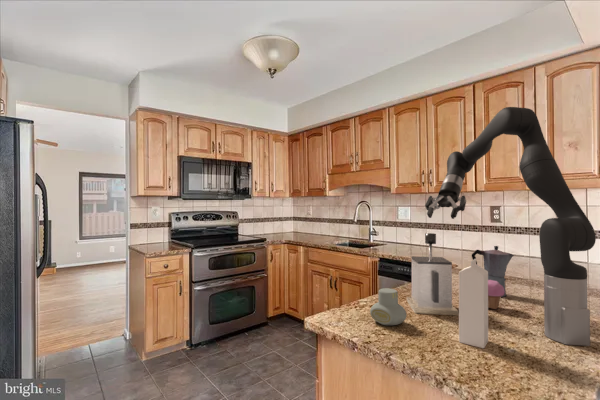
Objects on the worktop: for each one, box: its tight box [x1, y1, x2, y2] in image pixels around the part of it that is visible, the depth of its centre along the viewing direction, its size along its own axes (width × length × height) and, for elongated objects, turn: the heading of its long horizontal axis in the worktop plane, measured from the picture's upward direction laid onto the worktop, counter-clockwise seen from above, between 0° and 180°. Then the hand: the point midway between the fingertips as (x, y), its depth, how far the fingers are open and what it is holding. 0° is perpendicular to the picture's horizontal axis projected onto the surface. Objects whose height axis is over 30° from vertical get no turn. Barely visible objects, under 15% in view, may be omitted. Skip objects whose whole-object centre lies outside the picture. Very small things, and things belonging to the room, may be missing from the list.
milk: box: [458, 258, 489, 349], centre depth 86 cm, size 6×6×22 cm
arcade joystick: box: [406, 256, 459, 316], centre depth 114 cm, size 14×14×17 cm
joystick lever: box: [424, 232, 437, 260], centre depth 114 cm, size 9×9×24 cm
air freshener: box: [369, 287, 407, 327], centre depth 100 cm, size 11×8×10 cm
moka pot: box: [471, 245, 515, 298], centre depth 132 cm, size 10×15×20 cm, turn 79°
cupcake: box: [488, 280, 506, 310], centre depth 114 cm, size 9×9×10 cm
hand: (440, 216), depth 121 cm, fingers open, 8 cm apart
